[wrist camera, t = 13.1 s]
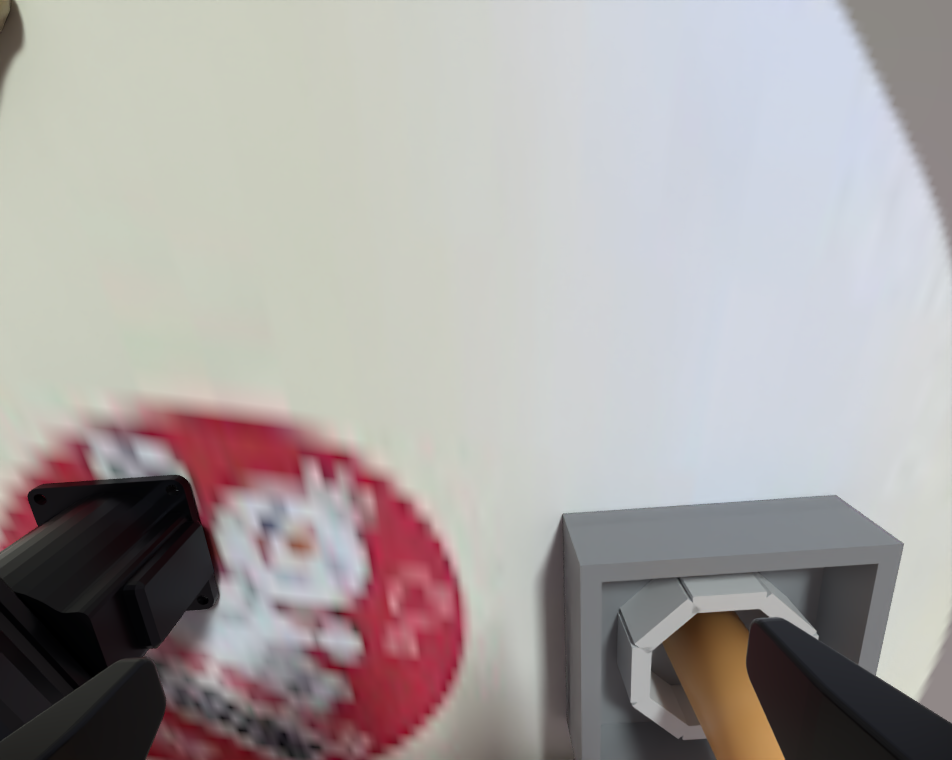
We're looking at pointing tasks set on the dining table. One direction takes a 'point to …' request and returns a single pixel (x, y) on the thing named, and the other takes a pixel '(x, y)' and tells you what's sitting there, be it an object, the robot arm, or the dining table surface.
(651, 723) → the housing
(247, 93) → the dining table surface
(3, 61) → the dining table surface
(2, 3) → the pastry
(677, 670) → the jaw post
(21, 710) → the robot arm
